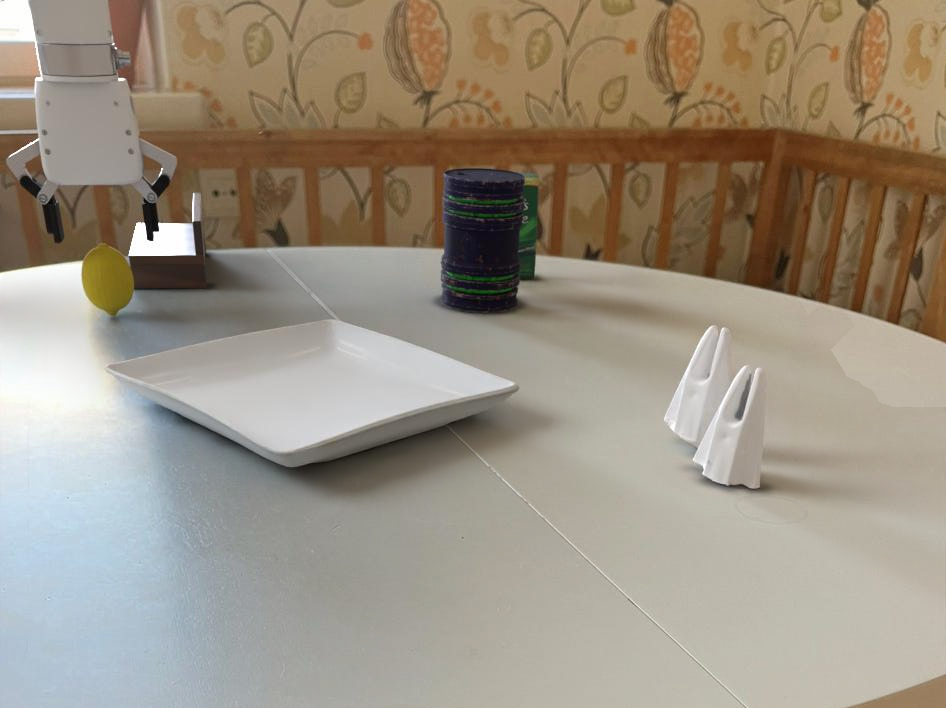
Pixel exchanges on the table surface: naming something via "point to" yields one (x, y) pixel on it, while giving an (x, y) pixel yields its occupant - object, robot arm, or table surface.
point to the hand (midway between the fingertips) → (105, 240)
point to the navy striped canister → (481, 239)
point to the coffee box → (529, 227)
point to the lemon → (107, 279)
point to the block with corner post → (171, 254)
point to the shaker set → (721, 413)
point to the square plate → (312, 389)
